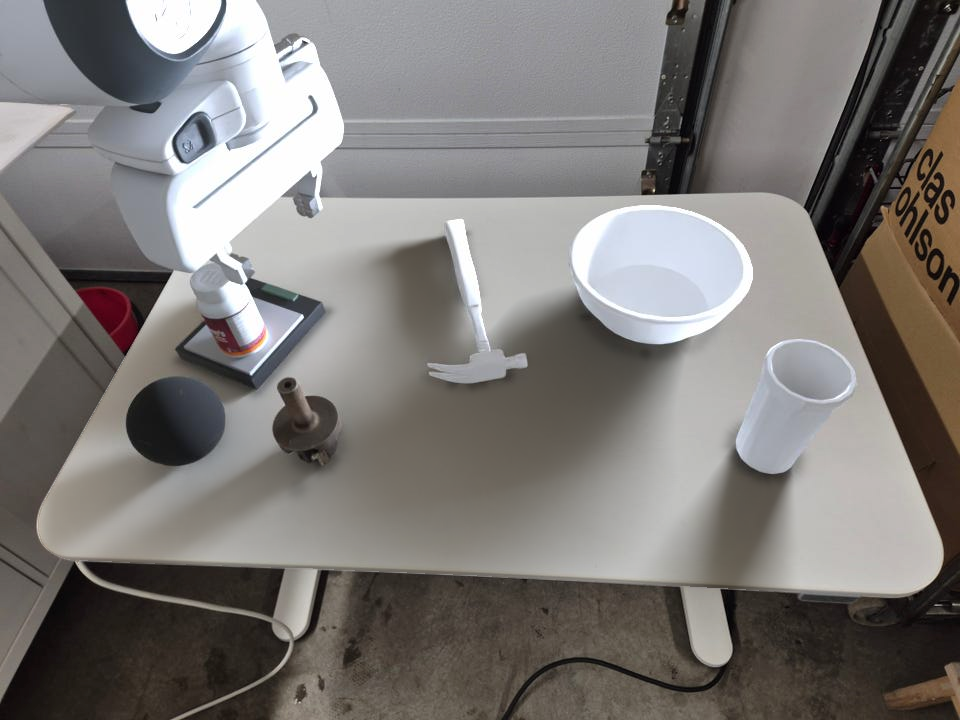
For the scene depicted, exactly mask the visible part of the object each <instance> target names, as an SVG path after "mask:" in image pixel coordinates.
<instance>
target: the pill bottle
mask: <svg viewBox="0 0 960 720" xmlns="http://www.w3.org/2000/svg"><path fill="white" fill-rule="evenodd" d="M189 285H190V288H191V290H192V292H193V294H194V297H195V304H196V309H197V310H198V312H199V314H200V316H201V318H202V319H203V321H205V323H206V325H207V327H208V328H209V330H210V332H211V334H212V336H213V337H214V339H215V341H216V342H217V344H218V346H219V348H220V349H221V351H222V352H223V353H224V354H225V355H227V356H229V357H232V358H243V357H247V356H250V355H252V354H254V353H256V352H258V351H259V350H260V349H261V348H262V347H263V346H264V345H265V343H266V341H267V337H268V333H267V330H266V327H265V325H264V323H263V320H262V318H261V316H260V314H259V312H258V310H257V307H256V305H255V303H254V301H253V299H252V296H251V294H250V292H249V290H248V288H247V286H246V285H245V284H243V285H239V284H236V283H233V282H231V281H229V280H228V279H227V278H226V276H225V274H224V272H223V270H222V268H221V266H220V265H218V264H216V263H214V262H211V263H208V264H204V265H202V266H201V267H200V268H199V269H198V270H197V271H195V272H193V273H192V275H191V276H190V278H189Z"/></svg>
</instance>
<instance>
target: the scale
mask: <svg viewBox="0 0 960 720" xmlns="http://www.w3.org/2000/svg"><path fill="white" fill-rule="evenodd" d="M244 284H245V285H246V286H247V288H248V290H249V292H250V294H251V296H252V299H253V301H254V303H255V305H256V307H257V310H258V312H259V314H260V316H261V318H262V320H263V323H264V325H265V327H266V330H267V333H268V337H267V341H266V343H265V345H264V346H263V347H262V348H261V349H260V350H259V351H258V352H256V353H254V354H252V355H250V356H247V357H243V358H232V357H229V356H227V355H225V354H224V353H223V352H222V351H221V349H220V348H219V346H218V344H217V342H216V341H215V339H214V337H213V336H212V334H211V332H210V330H209V328H208V327H207V325H206V323H205V321H204V320H203V321H201V323H200V324H199V325H198V326H196V327H195V328H194V330H192V331H191V332H190V333H189V334H188V335H187V336H186V337H185V338H184V339H183V340H182V341H180V343H179V344H178V345H177V346H176V347H175V348H174V351H175V352H176V354H177V356H178V357H179V358H180V360H183V361H186V362H187V363H189V364H190V363H191V364H193V365H196V366H198V367H200V368H202V369H205V370H207V371H210V372H212V373H215V374H217V375H219V376H222V377H224V378H227V379H229V380H231V381H234V382H236V383H239V384H241V385H244V386H246V387H248V388H251V389H254V390H256V391H257V390H258V389H260V387H261V386H262V385H263V384H264V383H265V381H266V380H267V379H268V378H269V377H270V376H271V374H272V373H273V372H274V371H275V370H276V369H277V368H278V367H279V366H280V365H281V364H282V362H283V361H284V360H285V359H286V358H287V356H288V355H289V354H290V353H291V352H292V351H293V349H294V348H295V347H296V346H297V345H298V344H299V343H300V341H302V340H303V338H304V337H305V336H306V335H307V334H308V333H309V331H310V330H311V329H312V328H313V327H314V326H315V324H317V322H318V321H319V320H320V319H321V318H322V317H323V316H324V314H325V313H326V310H325V306H324V304H323V302H322V301H321V300H318V299H315V298H311V297H309V296H305V295H303V294H300V293H297V292H293V291H290V290H288V289H286V288H283V287H279V286H276V285H273V284H270V283H267V282H264V281H261V280H258V279H255V278H252V277H250V278H249V279H248V280H247V281H246V282H245V283H244Z"/></svg>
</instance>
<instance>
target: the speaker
mask: <svg viewBox="0 0 960 720" xmlns="http://www.w3.org/2000/svg"><path fill="white" fill-rule="evenodd" d="M226 419H227V418H226V410H225V407H224V404H223V402H222V400H221V398H220V396H219V395H218V393H217V392H216V391H215V390H214V389H213V388H212V387H211V386H210V385H208V384H206V382H205V383H204V382H203V381H201V380H199V379H196V378H194V377H189V376H185V375H183V376H182V375H173V376H172V375H171V376H166V377H162V378H159V379H155V380H154V381H152V382H150V383H148V384H147V385H145V386H144V387H143V388H141V389H140V390H139V391H138V392H137V393H136V395H135V396H134V397H133V399H132V400H131V402H130V403H129V406H128V408H127V411H126V416H125V429H126V435H127V438H128V440H129V442H130V444H131V446H132V447H133V449H135V451H136V452H137V453H138V454H139V455H140V456H142V457H143V458H144V459H146V460H148V461H149V462H152V463H154V464H158V465H161V466H167V467H180V466H185V465H190V464H192V463H195V462H198V461H199V460H201V459H203V458H204V457H206V456H208V455H209V454H210V453H211V452H212V451H213V450H214V449H215V448H216V446H217V445H218V444H219V443H220V441H221V439H222V437H223V435H224V432H225V427H226Z"/></svg>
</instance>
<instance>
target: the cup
mask: <svg viewBox="0 0 960 720" xmlns="http://www.w3.org/2000/svg"><path fill="white" fill-rule="evenodd" d="M766 353H767V354H766V355H765V357H764V359H763V362H762V367H761V370H762V372H761V374H760V376H759V379H758V381H757V385H756V387H755V390H754V392H753V395H752V396H751V400H750V403H749V405H748V408H747V410H746V413H745V416H744V418H743V421H742V423H741V426H740V428H739V430H738V433H737V436H736V438H735V449H736V452H737V453H738V455H739V458H740V459H741V460H742V461H743V462H744V463H745V464H746V465H747V466H749V467H750V468H751V469H754V470H756V471H758V472H760V473H764V474H771V475H776V474H781V473H782V474H783V473H786V471H789V470H790V469H791V468H792V467H793V466H794V464H795V462H796V461H797V460H798V458H799V457H800V456H801V454H802V453H803V452H804V450H805V449H806V447H807V446H808V445H809V444H810V443H811V441H812V440H813V438H814V437H815V436H816V434H817V433H818V432H819V431H820V429H821V428H822V427H823V425H825V423H826V422H827V420H828V419H829V418H830V417H831V415H832V414H833V412H834V411H836V410H837V409H839V408H840V407H841V406H843V405H844V404H846V403H847V402H848V401H849V400H850V399H851V398H852V397H853V396H854V393H855V391H856V389H857V386H858V382H857V377H856V371H855V368H853V366H852V365H851V363H850V362H849V360H848V359H847V357H846V356H844V355H843V354H841V353H840V352H839V351H838V350H836V349H835V348H833V347H832V346H830V345H827V344H825V343H822V342H819V341H817V340H813V339H812V340H811V339H803V338H794V339H787V340H783V341H781V342H779V343H777V344H776V345H773V346H772V347H771V348H769V350H768V351H767V352H766Z"/></svg>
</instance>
